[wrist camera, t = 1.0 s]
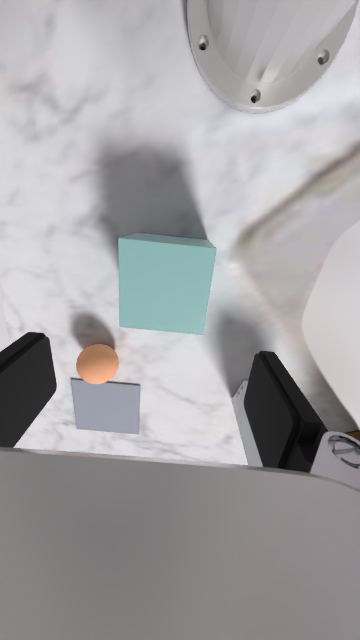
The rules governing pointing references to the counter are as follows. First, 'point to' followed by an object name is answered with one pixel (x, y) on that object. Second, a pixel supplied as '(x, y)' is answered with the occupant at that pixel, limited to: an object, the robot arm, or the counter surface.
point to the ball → (97, 363)
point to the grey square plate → (106, 406)
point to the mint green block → (164, 282)
